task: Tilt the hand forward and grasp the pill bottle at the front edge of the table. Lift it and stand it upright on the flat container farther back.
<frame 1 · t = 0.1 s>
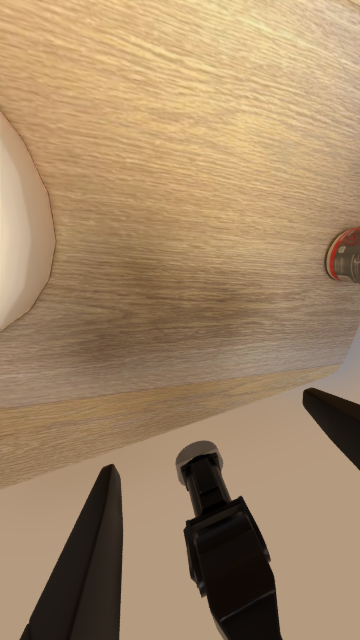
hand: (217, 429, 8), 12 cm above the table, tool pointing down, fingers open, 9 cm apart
pill bottle: (342, 255, 22), on the table
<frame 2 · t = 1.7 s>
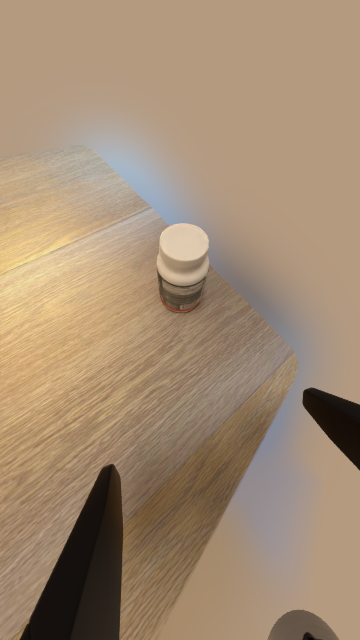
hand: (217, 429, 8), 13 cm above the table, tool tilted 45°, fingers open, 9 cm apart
pill bottle: (180, 296, 27), on the table
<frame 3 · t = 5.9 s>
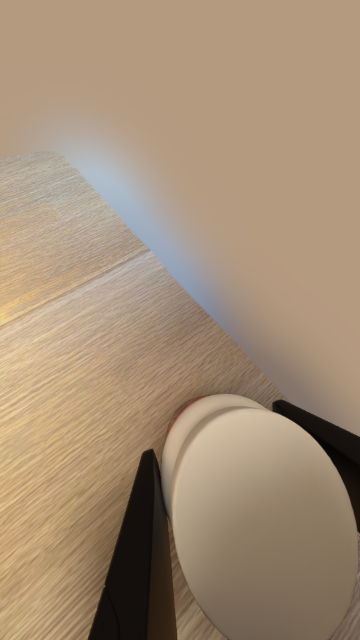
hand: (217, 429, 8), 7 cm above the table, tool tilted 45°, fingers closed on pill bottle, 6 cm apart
pill bottle: (204, 438, 14), on the table, touching gripper
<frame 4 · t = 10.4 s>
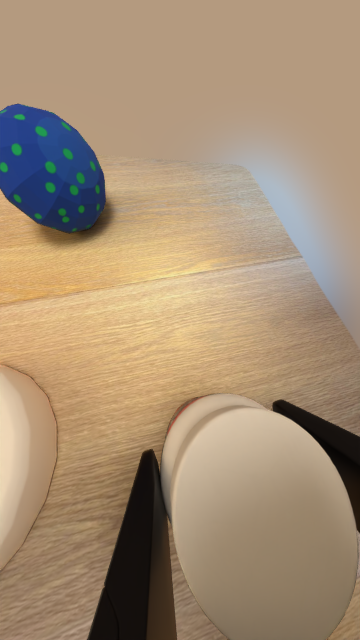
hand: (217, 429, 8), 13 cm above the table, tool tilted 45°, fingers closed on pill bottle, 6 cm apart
pill bottle: (204, 438, 14), point 6 cm above the table, touching gripper
green-spotted blue ball: (73, 219, 32), on the table
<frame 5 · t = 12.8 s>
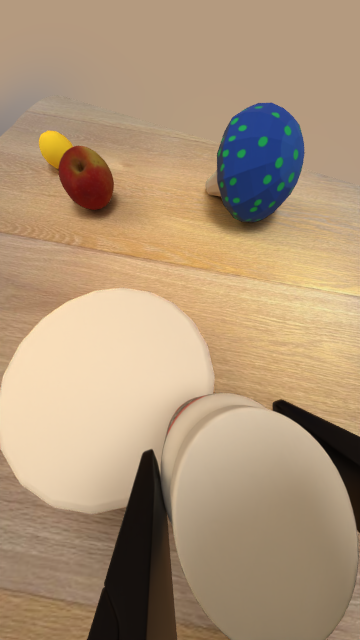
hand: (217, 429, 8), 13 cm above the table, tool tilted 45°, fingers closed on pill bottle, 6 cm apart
lemon: (65, 169, 37), on the table
apple: (97, 206, 33), on the table
container: (121, 380, 22), on the table
pill bottle: (204, 438, 14), point 7 cm above the table, touching gripper
green-spotted blue ball: (238, 209, 34), on the table
when the fingers open (11 cm above the table, at t = 14.8 s): pill bottle stays where it is, resting on container.
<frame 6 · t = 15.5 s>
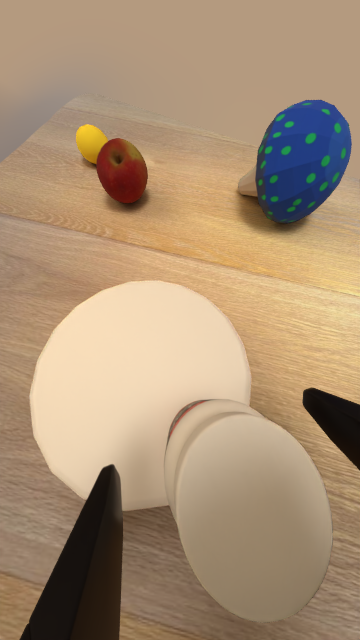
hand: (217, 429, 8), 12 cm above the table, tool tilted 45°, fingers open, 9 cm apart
lemon: (98, 163, 37), on the table
apple: (128, 200, 33), on the table
container: (149, 374, 21), on the table, touching pill bottle
pill bottle: (203, 439, 15), point 4 cm above the table, touching container
green-spotted blue ball: (270, 210, 33), on the table
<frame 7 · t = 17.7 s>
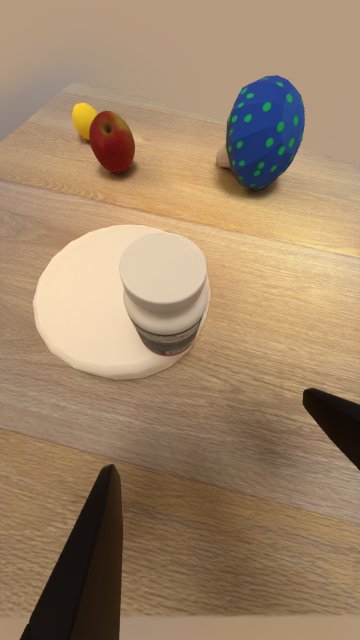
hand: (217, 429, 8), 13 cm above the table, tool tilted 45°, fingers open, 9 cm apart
lemon: (92, 140, 42), on the table
apple: (119, 170, 37), on the table
container: (132, 303, 26), on the table, touching pill bottle
pill bottle: (168, 330, 19), point 4 cm above the table, touching container
green-spotted blue ball: (244, 180, 38), on the table
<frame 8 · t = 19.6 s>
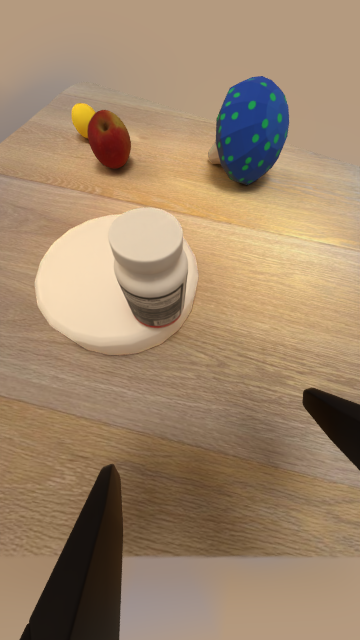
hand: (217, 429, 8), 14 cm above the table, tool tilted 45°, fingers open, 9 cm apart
lemon: (91, 138, 44), on the table
apple: (116, 167, 39), on the table
container: (126, 288, 27), on the table, touching pill bottle
pill bottle: (158, 307, 21), point 4 cm above the table, touching container
green-spotted blue ball: (235, 175, 40), on the table
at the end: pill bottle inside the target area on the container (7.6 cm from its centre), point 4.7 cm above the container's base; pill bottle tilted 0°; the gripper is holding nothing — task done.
